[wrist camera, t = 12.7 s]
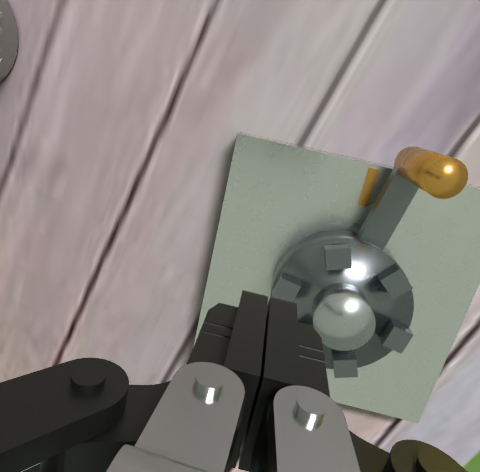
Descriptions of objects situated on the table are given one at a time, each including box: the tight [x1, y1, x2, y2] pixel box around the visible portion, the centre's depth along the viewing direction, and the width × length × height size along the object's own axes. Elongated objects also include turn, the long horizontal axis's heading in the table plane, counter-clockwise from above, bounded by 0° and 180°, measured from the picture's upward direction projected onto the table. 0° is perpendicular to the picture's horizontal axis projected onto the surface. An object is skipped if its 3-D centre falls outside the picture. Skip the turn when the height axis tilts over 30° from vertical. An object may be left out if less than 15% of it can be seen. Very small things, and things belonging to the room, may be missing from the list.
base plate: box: [193, 132, 480, 423], centre depth 36 cm, size 22×22×2 cm
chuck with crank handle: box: [270, 147, 468, 378], centre depth 30 cm, size 19×11×8 cm, turn 157°
